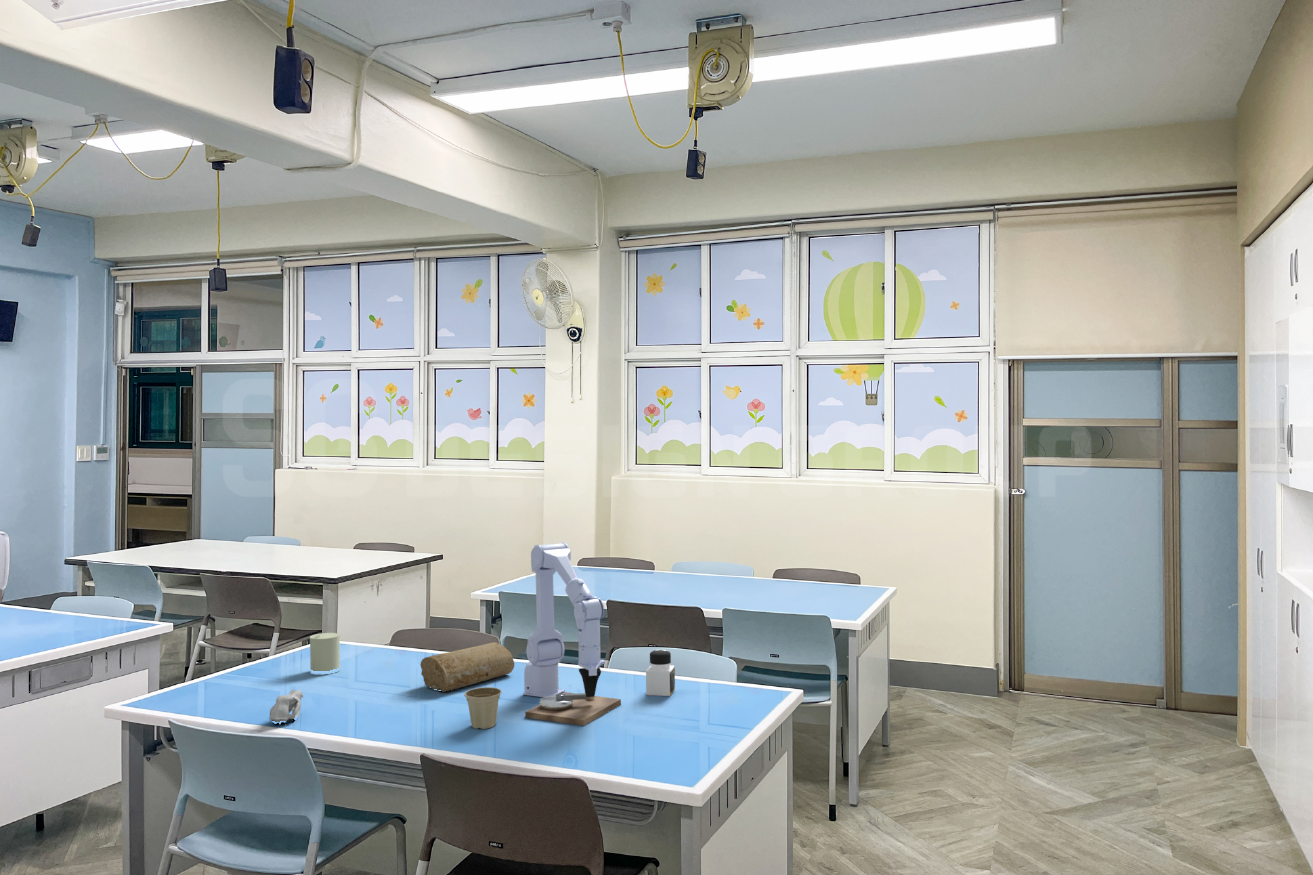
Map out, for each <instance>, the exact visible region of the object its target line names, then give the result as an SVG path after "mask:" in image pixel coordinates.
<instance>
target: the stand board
mask: <svg viewBox="0 0 1313 875" xmlns="http://www.w3.org/2000/svg"><path fill="white" fill-rule="evenodd" d="M561 694H577V693H576V692H575V693H574V692H567V691H564V692H562V693H561ZM621 705H622V699H620V698H614V697H606V696H598V695H595V700H594V701H586V699H581V700H573V706H572V707H570V708H567V709H562V710H546V709H543V708H541V707H540V704H538V705H536V706H533V707H532V708H530V709H527V710H526V711H525V712H524V717H525V718H527V719H534V720H542V721H548V722H555V723H563V724H569V725H576V726H582V727H583V726H586V725H588V724H590V723H591V722H593V721H595V720H597V719H598V718H600V717H602V716H603V715H605V714H607V713H609V712H610V711H612V710H614V709H617V706H618V707H619V706H621ZM608 711H609V712H608Z"/></svg>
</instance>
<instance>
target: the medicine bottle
mask: <svg viewBox="0 0 1313 875" xmlns="http://www.w3.org/2000/svg"><path fill="white" fill-rule="evenodd" d="M671 655H672V653H671V652H670V651H669V650H666V649H655V650H652V651H650V653H649V667H648V668H647V669H646V670H645V687H646V688H645V690H646V692H645V693H646V696H654V697H656V696H657V697H658V696H659V697H671V696H672V695H673V693H674V691H675V690H676V678H675V676H676V673H675V671H676V669H675V668H676V667H675V665H672V656H671Z"/></svg>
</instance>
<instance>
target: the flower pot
mask: <svg viewBox="0 0 1313 875" xmlns="http://www.w3.org/2000/svg"><path fill="white" fill-rule="evenodd" d="M502 693H503V692H502V689H501V688H497V687H475V688H471V689H469V690H468V689H467V691H465V692H464V693H463V694H464V697H465V699H466V702H467V706H468V711H469V718H470V724H471V728H473V729H477V730H478V729H482V730H487V729H491V728H493V727H495V725H497V718H498V708H499V700H500V698H501V695H502Z"/></svg>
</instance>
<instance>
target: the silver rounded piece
mask: <svg viewBox="0 0 1313 875" xmlns="http://www.w3.org/2000/svg"><path fill="white" fill-rule="evenodd" d="M595 696H596V695H595ZM595 696H594V697H586V694H585V692H583V693H582V692H581V693H576V694H562V693H560V694H556V695H550V696H546V697H540V699H539V705H540V707H541V708H543V709H546V710H562V709H567V708H570V707H572V706H573V700H581V699H586V701H594V700H595Z"/></svg>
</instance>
